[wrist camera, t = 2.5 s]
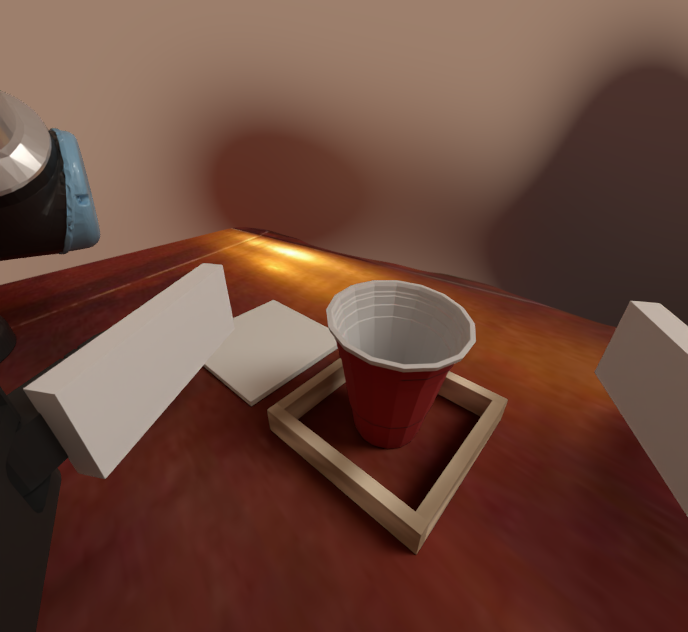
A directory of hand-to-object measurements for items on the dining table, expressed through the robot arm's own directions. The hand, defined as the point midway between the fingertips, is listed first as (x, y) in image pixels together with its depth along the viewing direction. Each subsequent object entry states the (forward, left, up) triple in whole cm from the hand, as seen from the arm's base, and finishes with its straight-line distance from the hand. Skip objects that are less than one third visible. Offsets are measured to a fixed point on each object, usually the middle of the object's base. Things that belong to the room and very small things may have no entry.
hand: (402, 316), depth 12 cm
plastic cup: (-6, +10, -19) cm, 22 cm away
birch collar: (-6, +10, -19) cm, 22 cm away
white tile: (-24, +10, -19) cm, 32 cm away
